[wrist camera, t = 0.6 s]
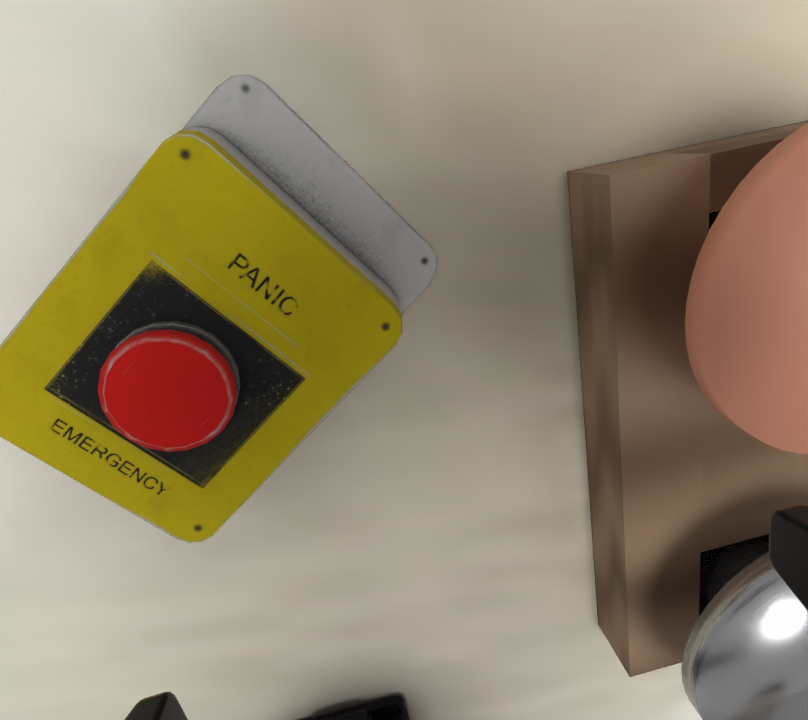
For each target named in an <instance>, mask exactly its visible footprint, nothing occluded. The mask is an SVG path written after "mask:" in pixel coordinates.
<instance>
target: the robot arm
mask: <svg viewBox="0 0 808 720" xmlns="http://www.w3.org/2000/svg"><path fill="white" fill-rule="evenodd" d="M769 557H770V561H771V563H772V565H773V567H774V569H775V570H776V572H777V573H778V574H779V576H780V577H781V578H782V579H783V581H784V582H785V583H786V584H787V586H788V587H789V588H790V590H791V591H792V592H793V593H794V595H795V596H796V597H797V598H798V600H799V601H800V602H801V603H802V605H803V606H804V607H805V608H806V610H807V611H808V506H805V505H793V506H790V507H786V508H783V509H780V510H776V511H774V512H773V513H772V515H771V517H770V528H769ZM125 720H188V719H187V717H186V715H185V713H184V712H183V710H182V708H181V706H180V704H179V702H178V700H177V698H176V697H175V695H174V694H172V693H171V692H164V693H161V694H157V695H154V696H151V697H147V698H144V699H142V700H141V701H139V702H138V703H137V704H136V705H135V707H134V708H133V709H132V710H131V712H130V713H129V714H128V716H127V717H126V718H125ZM311 720H411V719H410V715H409V711H408V708H407V704H406V700H405V699H404V698H403V697H401V696H394V697H390V698H387V699H383V700H379V701H376V702H372V703H369V704H365V705H361V706H358V707H354V708H351V709H347V710H343V711H340V712H336V713H333V714H329V715H326V716H322V717H318V718H315V719H311Z"/></svg>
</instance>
